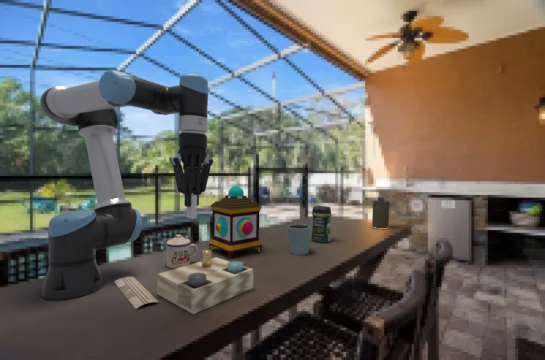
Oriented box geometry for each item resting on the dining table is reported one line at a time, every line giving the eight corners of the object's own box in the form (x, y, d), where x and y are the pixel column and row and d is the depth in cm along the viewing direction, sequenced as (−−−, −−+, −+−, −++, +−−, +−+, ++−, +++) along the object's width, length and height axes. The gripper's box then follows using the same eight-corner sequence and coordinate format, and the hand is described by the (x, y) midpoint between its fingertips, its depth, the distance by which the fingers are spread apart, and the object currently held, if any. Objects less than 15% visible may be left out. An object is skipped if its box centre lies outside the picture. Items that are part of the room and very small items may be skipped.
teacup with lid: (170, 270, 105) (170, 238, 105) (162, 263, 112) (162, 234, 112) (201, 264, 112) (201, 234, 112) (192, 258, 120) (192, 230, 119)
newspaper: (159, 306, 80) (159, 299, 80) (131, 314, 75) (131, 307, 75) (133, 280, 97) (133, 275, 97) (110, 285, 93) (110, 280, 93)
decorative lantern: (204, 250, 132) (205, 184, 131) (240, 243, 145) (241, 183, 144) (229, 261, 117) (229, 187, 116) (266, 252, 130) (267, 185, 129)
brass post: (205, 268, 91) (205, 252, 91) (199, 266, 93) (200, 250, 92) (213, 266, 93) (213, 250, 93) (207, 263, 95) (207, 248, 95)
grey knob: (195, 304, 76) (195, 280, 76) (184, 299, 79) (184, 276, 79) (209, 298, 80) (210, 275, 80) (199, 293, 83) (199, 271, 83)
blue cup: (313, 254, 128) (314, 227, 127) (293, 256, 124) (293, 228, 124) (303, 248, 137) (303, 223, 137) (283, 250, 134) (283, 224, 133)
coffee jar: (309, 241, 152) (309, 205, 151) (316, 238, 158) (317, 204, 157) (325, 244, 146) (326, 207, 145) (332, 241, 152) (333, 206, 151)
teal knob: (234, 288, 87) (234, 267, 87) (224, 284, 90) (224, 263, 90) (245, 283, 91) (246, 263, 90) (235, 279, 94) (235, 260, 93)
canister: (371, 229, 185) (372, 197, 185) (371, 226, 195) (372, 196, 194) (390, 230, 182) (391, 198, 181) (389, 227, 192) (389, 197, 191)
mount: (193, 314, 74) (193, 291, 74) (157, 294, 86) (157, 274, 85) (253, 288, 91) (253, 269, 91) (216, 274, 102) (216, 257, 102)
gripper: (179, 129, 73) (177, 222, 74) (220, 135, 83) (218, 217, 84) (164, 131, 78) (162, 218, 79) (204, 136, 88) (202, 213, 89)
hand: (191, 217), depth 81 cm, fingers closed
